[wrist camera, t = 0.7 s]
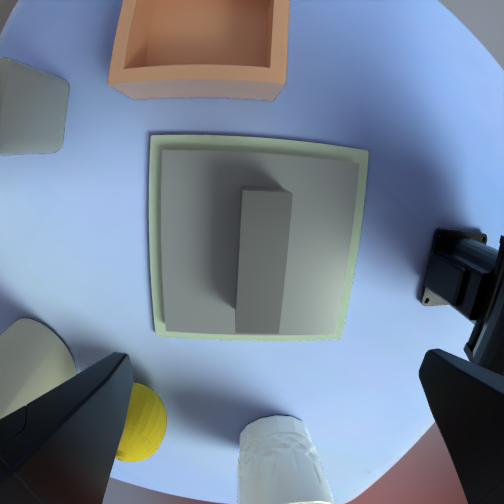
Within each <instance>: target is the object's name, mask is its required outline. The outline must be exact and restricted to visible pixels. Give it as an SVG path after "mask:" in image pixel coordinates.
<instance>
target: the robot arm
mask: <svg viewBox="0 0 504 504" xmlns="http://www.w3.org/2000/svg"><path fill="white" fill-rule="evenodd" d="M440 233H441V236H440V237H439V235H440ZM482 238H483V239H482ZM486 242H487V236H486V234H483V233H479V232H471V231H463V230H455V229H446V228H438V229H436V231H435V233H434V238H433V244H432V249H431V254H430V259H429V264H428V268H427V273H426V277H425V281H424V285H423V289H422V293H421V297H420V303H421V304H422V305H423V306H436V305H450V306H452V307H453V308H454V309H456V310H457V311H458V312H459V313H461V314H462V315H463V316H464V317H466V318H467V319H468V320H469V321H471V322H472V323H473V324H474V325H475V326H474V328H473V331H472V333H471V336H470V338H469V340H468V342H467V343H466V345H465V347H464V352H465V353H466V355H467V357H468V359H469V361H470V362H469V361H467V360H464V359H462V358H460V357H457V356H455V355H453V354H450V353H448V352H446V351H443V350H441V349H431V350H428V351H427V352H426V354H425V356H424V359H423V362H422V364H421V367H420V369H419V378H420V381H421V384H422V387H423V389H424V392H425V395H426V398H427V401H428V404H429V407H430V410H431V412H432V415H433V417H434V419H435V422H436V424H437V426H438V428H439V430H440V433H441V435H442V437H443V440H444V442H445V445H446V447H447V449H448V452H449V454H450V456H451V459H452V461H453V464H454V467H455V469H456V472H457V474H458V477H459V480H460V482H461V485H462V488H463V491H464V493H465V496H466V499H467V502H468V504H504V236H502V235H501V238H500V242H499V243H500V247H499V250H496V249H494V248H492V247H490V246H487V245H486ZM426 298H427V299H426ZM425 299H426V301H425ZM133 380H134V379H133V372H132V367H131V362H130V358H129V355H128V354H126V353H120V352H114V353H112V354H110V355H108V356H107V357H105V358H103V359H102V360H100V361H98V362H97V363H95V364H93V365H92V366H90V367H88V368H87V369H85V370H83V371H82V372H80V373H78V374H77V375H75V376H73V377H72V378H70V379H68V380H67V381H65V382H63V383H62V384H60V385H58V386H57V387H55V388H53V389H52V390H50V391H48V392H46V393H45V394H43V395H41V396H40V397H38V398H36V399H35V400H33V401H31V402H29V403H28V404H27V405H26V406H25V405H24V406H22V407H21V408H19V409H17V410H16V411H14V412H12V413H10V414H8V415H6V416H5V417H3V418H1V419H0V504H102V501H103V498H104V494H105V491H106V487H107V483H108V480H109V476H110V473H111V470H112V466H113V463H114V459H115V456H116V453H117V450H118V446H119V443H120V440H121V437H122V434H123V430H124V427H125V422H126V417H127V412H128V407H129V402H130V397H131V392H132V387H133Z"/></svg>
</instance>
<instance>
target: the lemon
mask: <svg viewBox="0 0 504 504" xmlns="http://www.w3.org/2000/svg"><path fill="white" fill-rule="evenodd" d="M166 425H167V415H166V410H165V407H164V404H163V402H162V400H161V399H160V398H159V396H158V395H157V394H156V393H155V392H154V391H153V390H151V389H150V388H148V387H147V386H145V385H143V384H139V383H134V382H133V387H132V392H131V397H130V402H129V407H128V412H127V417H126V422H125V427H124V430H123V434H122V437H121V440H120V443H119V446H118V450H117V453H116V456H115V458H116V459H118V460H120V461H130V462H134V461H141V460H144V459H146V458H148V457H150V456H151V455H152V454H154V453H155V452H156V450H157V449H158V447H159V446H160V444H161V442H162V440H163V438H164V435H165V432H166Z"/></svg>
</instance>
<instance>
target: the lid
mask: <svg viewBox="0 0 504 504" xmlns="http://www.w3.org/2000/svg"><path fill="white" fill-rule="evenodd" d="M358 173H359V164H358V163H351V162H344V161H336V160H328V159H320V158H311V157H301V156H291V155H279V154H267V153H252V152H233V151H203V150H163V151H162V177H161V254H162V281H163V299H164V315H165V328H166V331H169V332H184V333H202V334H225V335H329V334H334V333H335V329H336V324H337V319H338V314H339V309H340V304H341V298H342V293H343V287H344V281H345V276H346V269H347V263H348V257H349V250H350V243H351V236H352V229H353V221H354V212H355V204H356V194H357V184H358Z"/></svg>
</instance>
